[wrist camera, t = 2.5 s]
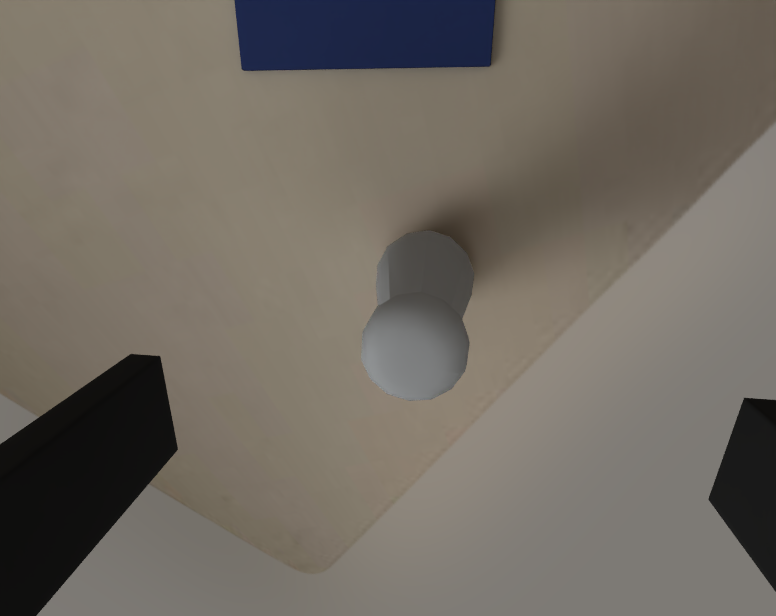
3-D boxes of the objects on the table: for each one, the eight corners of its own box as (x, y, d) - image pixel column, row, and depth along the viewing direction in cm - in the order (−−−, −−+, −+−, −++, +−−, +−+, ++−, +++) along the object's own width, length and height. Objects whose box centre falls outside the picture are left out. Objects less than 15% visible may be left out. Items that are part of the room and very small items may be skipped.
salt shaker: (413, 325, 30) (391, 449, 18) (364, 256, 29) (305, 340, 17) (489, 280, 28) (520, 384, 16) (440, 205, 27) (435, 258, 15)
